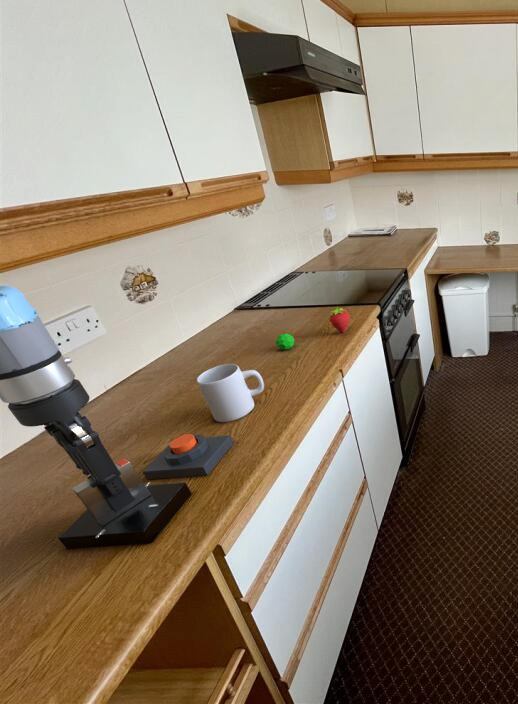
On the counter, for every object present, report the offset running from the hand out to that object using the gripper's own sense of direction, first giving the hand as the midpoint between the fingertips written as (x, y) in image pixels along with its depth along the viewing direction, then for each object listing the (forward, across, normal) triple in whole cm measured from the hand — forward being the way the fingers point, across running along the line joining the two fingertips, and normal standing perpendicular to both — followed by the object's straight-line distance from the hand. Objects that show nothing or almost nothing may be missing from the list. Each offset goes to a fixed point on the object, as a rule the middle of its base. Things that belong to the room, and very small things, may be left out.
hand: (121, 502), depth 70 cm
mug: (+5, +14, -28) cm, 31 cm away
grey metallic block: (+1, 0, 0) cm, 1 cm away
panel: (+4, 0, 0) cm, 4 cm away
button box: (+4, +6, -13) cm, 15 cm away
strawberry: (+5, +22, -67) cm, 71 cm away
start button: (+1, +6, -13) cm, 14 cm away
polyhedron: (+5, +31, -53) cm, 61 cm away
